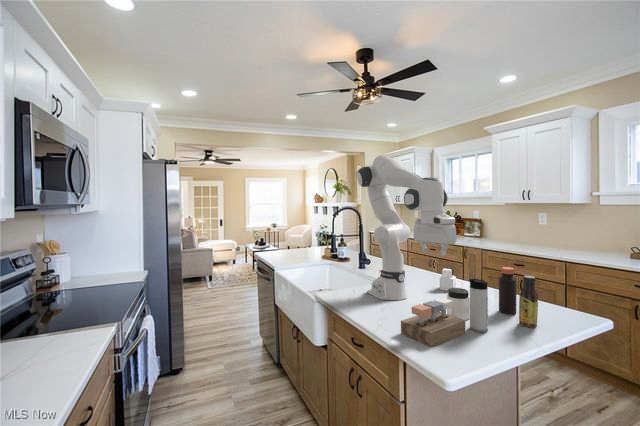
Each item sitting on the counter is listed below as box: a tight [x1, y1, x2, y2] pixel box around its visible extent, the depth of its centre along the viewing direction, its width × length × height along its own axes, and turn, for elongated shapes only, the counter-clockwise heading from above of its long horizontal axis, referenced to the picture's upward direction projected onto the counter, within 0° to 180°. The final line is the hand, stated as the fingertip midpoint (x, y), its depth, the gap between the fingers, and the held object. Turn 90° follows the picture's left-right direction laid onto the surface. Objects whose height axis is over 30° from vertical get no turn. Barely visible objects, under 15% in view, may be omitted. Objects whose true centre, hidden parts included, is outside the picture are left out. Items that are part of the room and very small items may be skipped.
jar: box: [446, 287, 470, 322], centre depth 136 cm, size 9×8×12 cm
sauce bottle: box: [518, 274, 539, 328], centre depth 126 cm, size 6×6×20 cm
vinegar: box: [498, 266, 517, 316], centre depth 141 cm, size 7×7×20 cm
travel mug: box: [469, 278, 489, 334], centre depth 123 cm, size 6×7×20 cm
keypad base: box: [400, 311, 466, 348], centre depth 121 cm, size 14×20×5 cm
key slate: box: [422, 300, 443, 322], centre depth 121 cm, size 5×5×8 cm
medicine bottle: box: [439, 267, 457, 292], centre depth 179 cm, size 7×7×12 cm
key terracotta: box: [411, 303, 432, 327], centre depth 117 cm, size 5×5×8 cm
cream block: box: [433, 297, 453, 319], centre depth 124 cm, size 5×5×8 cm
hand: (433, 254), depth 123 cm, fingers open, 8 cm apart
